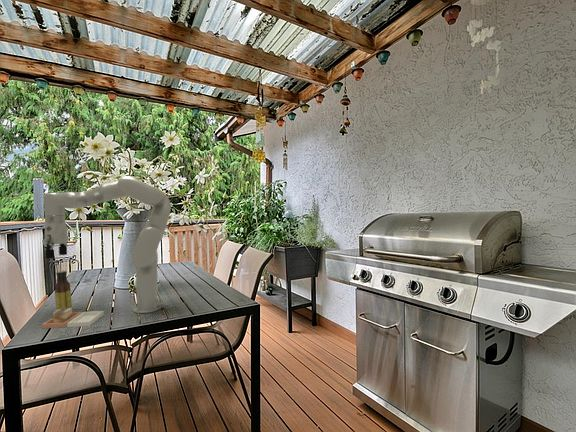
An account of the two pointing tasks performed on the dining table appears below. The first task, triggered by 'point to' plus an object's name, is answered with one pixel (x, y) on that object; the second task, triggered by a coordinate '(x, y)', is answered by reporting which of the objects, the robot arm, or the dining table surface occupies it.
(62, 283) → the sauce bottle
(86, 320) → the tray
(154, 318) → the dining table surface
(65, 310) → the letter cube
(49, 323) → the tray
